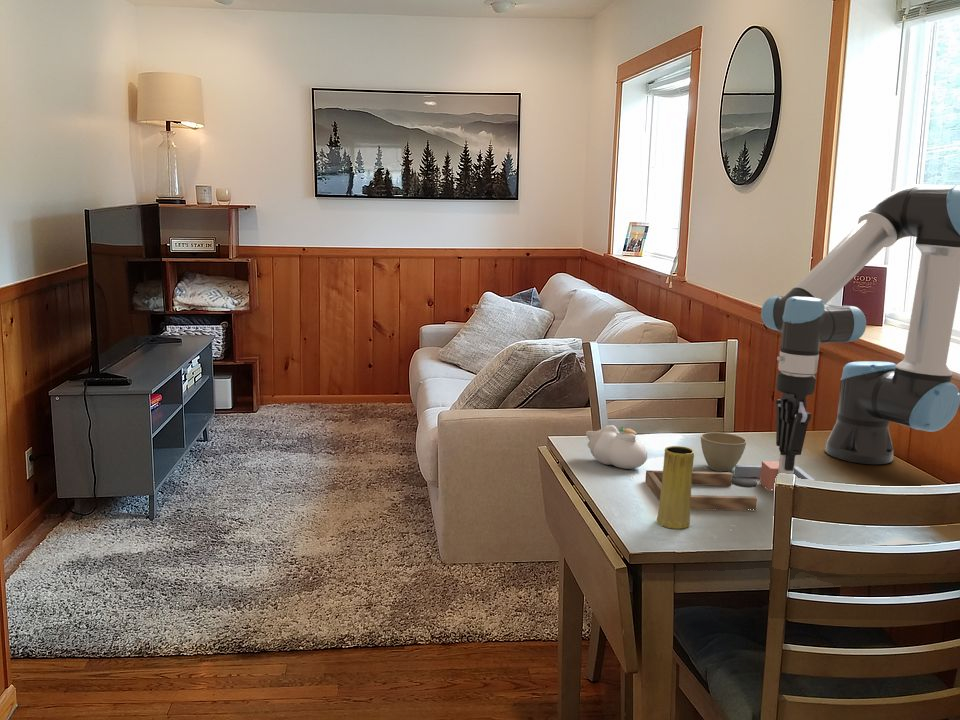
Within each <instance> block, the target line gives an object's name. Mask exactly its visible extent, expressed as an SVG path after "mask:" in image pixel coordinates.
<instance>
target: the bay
mask: <svg viewBox="0 0 960 720" xmlns="http://www.w3.org/2000/svg"><path fill="white" fill-rule="evenodd" d="M761 467H762V465H753V464H751V465H750V464H749V465H748V464H736V465H735V467H734V475H735V476H736V477H735V476H734V477H735V478H750V477H760V476H761ZM794 474H795V475H796V476H797V477H798V478H801V479H809V480H815V479H814V478H813V477H812V476H811V475H810V474H808V473H806V472H805V471H804V470H803V469H802V468H801V467H800V466H796V465H794Z"/></svg>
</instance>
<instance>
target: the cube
mask: <svg viewBox="0 0 960 720" xmlns="http://www.w3.org/2000/svg"><path fill="white" fill-rule="evenodd" d="M761 466H762V467H761V476H760V478H759V484H760V483H761V484H762V485H763V486H764V488H765V487H766V488H767V489H768V490H771V489H773V491H772V492H775V491H774V483H775V478H776V476H777V474H778V468H779V461H768V460H765V461H761ZM761 484H760V485H761ZM762 485H761V486H762ZM763 486H762V487H763ZM766 488H765V489H766ZM767 489H766V490H767ZM768 490H767V491H768Z"/></svg>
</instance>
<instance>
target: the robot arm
mask: <svg viewBox="0 0 960 720" xmlns="http://www.w3.org/2000/svg"><path fill="white" fill-rule="evenodd" d="M907 237H914V238H915V237H916V238H915V245H914V246H915V247H916V248H917V249H918V250H919V252H920V259H919V260H920V261H919V265H918V266H919V268H918V273H917V280H916V284H915V290H914V295H913V296H914V297H913V303H912V308H911V315H910V319H909V320H910V322H909V325H908V326H909V327H908V333H907V339H906V346H905V351H904V357H903V359H902V360H901V361H900V362H898V363H897V364H896V363H894V362H891V361H869V360H867V361H866V360H865V361H863V360H862V361H852V362H847V363H846V364H845V365H844V366H843V370H842V373H841V377H840V386H839V388H840V389H839V397H838V404H837V405H838V406H837V415H836V421H835V424H834V425H833V428H832V430H831V432H830V434H829V436H828V438H827V440H826V443H825V449H824V450H825V453H826V454H827V455H829V456H831V457H833V458H836V459H839V460H842V461H845V462H851V463H856V464H864V465H885V464H889V463H892V462H893V459H894V446H893V442H892V439H891V433H890V428H889V426H890V423H895V424H898V425H901V426H906V427H908V428H911V429H913V430H914V431H916V430H918V431H925V432H928V433H929V432H932V433H934V432H937V431H940V430H942V429H944V428H946V427H947V425H948V424H949V423H951V421H952V420H953V418H955V416H956V414H957V413H958V409H959V407H960V390H959V388H958V387H957V385H955V383H952V377H953V372H952V371H951V370H950V368H948V366H947V361H948V355H949V350H950V344H951V338H952V332H953V327H954V323H955V322H954V321H955V317H956V316H955V315H956V309H957V304H958V299H959V298H958V297H959V293H960V292H959V291H960V184H921V183H920V184H917V183H916V184H911V185H906V186H904V187H900V188H898V189H896V190H894V191H892V192H890V193H888V194H887V195H885V196H883V197H882V198H880V200H878V201H876V202H875V203H874V204H872V205H871V206H870V207H869V208H867V210H865V211H864V212H863V213H862V214H861V215H860V217H859V218H858V221H857V226H856V227H854V228H853V229H852V230H850V232H849V233H848V234H847V235H846V236H845V237H844V238H843V239H842V240H841V241H839V243H838V244H837V245H836V246H835V247H834V248H833V249H831V251H830V252H828V254H826V256H824V257H823V258H822V259H821V261H819V262H818V263H817V264H816V265H815V266H814V267H813V268H812V269H811V270H810V271H809V272H808V273H807V274H806V275H804V276H803V278H802V279H800V281H798V282H797V284H795V286H793V288H791V290H789V291H788V292H787V293H786V294H785V295H784V296H782V295H774V296H770V297H769V298H767V299H766V300H765V301H764V303H763V304H762V307H761V310H760V311H761V313H760V318H761V321H762V324H764V326H765V327H767V328H769V329H771V330H773V331H778V332H779V333H781V335H780V336H781V337H780V339H781V340H780V347H779V356H777V357H776V360H777V361H778V364H777V365H778V366H777V369H778V371H779V372H778V373H777V374H776V381H775V382H776V383H775V389H776V390H777V391H778V392H780V393H782V394H781V399H780V398H779V399H777V398H776V400H775V407H776V429H775V430H776V435H775V436H776V437H775V438H776V440H775V441H776V442H775V445H776V446H777V447H778V450H779V452H780V453H779V460H778V462H779V468H778V474H779V473H786V474H794V466H796V465H795V462H796V457H797V456H801V455H802V452H803V446H804V443H805V439H806V438H805V437H806V435H807V430H808V425H809V422H810V421H811V418H812V414H811V413H810V412H807V411H806V410H807V396H810V395H813V394H814V393H815V391H816V390H815V389H816V380H817V377H816V376H815V374H817V373H818V364H819V358H820V348H821V347H820V346H821V344H832V343H833V344H836V343H843V344H845V343H849V342H854V341H857V340H859V339H860V338H862V336H863V335H864V334H865V332H866V328H867V318H866V316H865V314H864V312H863V310H861V309H860V308H859V307H857V306H855V305H854V306H853V305H845V304H843V305H832V304H828V303H829V302H830V301H831V300H832V299H833V298H834V297H835V296H836V295H837V294H838V293H839V292H840V291H841V290H842V289H844V287H845V286H846V285H847V284H848V283H849V282H850V281H851V280H852V279H853V278H854V277H855V276H856V275H857V274H859V272H860V271H861V270H863V268H864V267H865V266H866V265H867V264H869V262H871V260H872V259H873V258H874V257H876V255H878V253H880V252H881V251H882V250H883V248H889V247H891V246H893V245H894V244H895V243H897V241H898V240H900V239H903V238H907Z"/></svg>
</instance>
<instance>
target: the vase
mask: <svg viewBox="0 0 960 720" xmlns="http://www.w3.org/2000/svg"><path fill="white" fill-rule="evenodd" d="M663 456H664V457H663V466H662V467H663V468H662V471H663V476H662V485H661V494H660V502H659V501H658V511H657V517H656V523H657V524H658V525H659V526H661V527H664V528H667V529H673V530H683V529H687V528H689V527H690V525H691V509H690V507H691V495H692V485H691V481H692V472H694V471H693V469H694V459H695V458H694V457H695V452H694V449H692V448H690V447H687V446H686V447H685V446H678V445H672V446H671V445H670V446H667V447H665V448H664V455H663Z"/></svg>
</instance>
